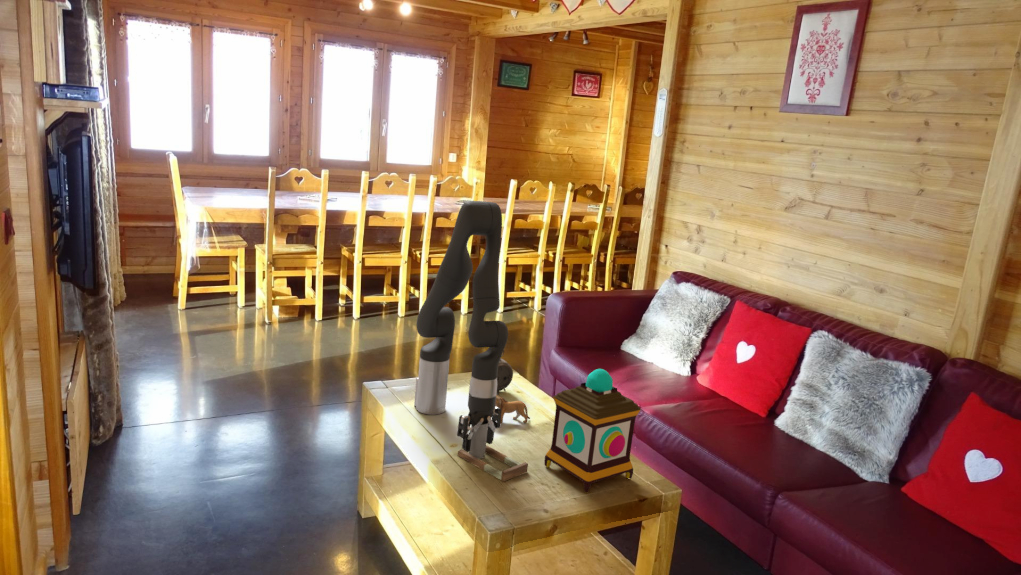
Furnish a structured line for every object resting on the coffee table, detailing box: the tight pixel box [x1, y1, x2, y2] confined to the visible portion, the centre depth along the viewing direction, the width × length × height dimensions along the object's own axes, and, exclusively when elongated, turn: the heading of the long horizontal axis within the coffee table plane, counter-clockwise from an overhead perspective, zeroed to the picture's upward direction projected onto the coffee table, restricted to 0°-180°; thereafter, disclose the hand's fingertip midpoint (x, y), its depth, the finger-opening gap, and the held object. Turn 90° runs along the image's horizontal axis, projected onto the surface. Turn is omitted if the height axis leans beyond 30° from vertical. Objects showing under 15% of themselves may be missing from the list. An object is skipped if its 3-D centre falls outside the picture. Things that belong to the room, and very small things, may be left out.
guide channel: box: [457, 444, 529, 482], centre depth 200 cm, size 18×9×2 cm, turn 46°
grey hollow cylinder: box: [468, 422, 488, 460], centre depth 203 cm, size 4×4×10 cm
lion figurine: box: [495, 394, 531, 425], centre depth 228 cm, size 15×5×9 cm, turn 113°
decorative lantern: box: [543, 368, 642, 494], centre depth 197 cm, size 20×20×30 cm
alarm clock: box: [496, 349, 514, 396], centre depth 250 cm, size 11×5×16 cm, turn 119°
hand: (477, 446), depth 203 cm, fingers open, 8 cm apart
